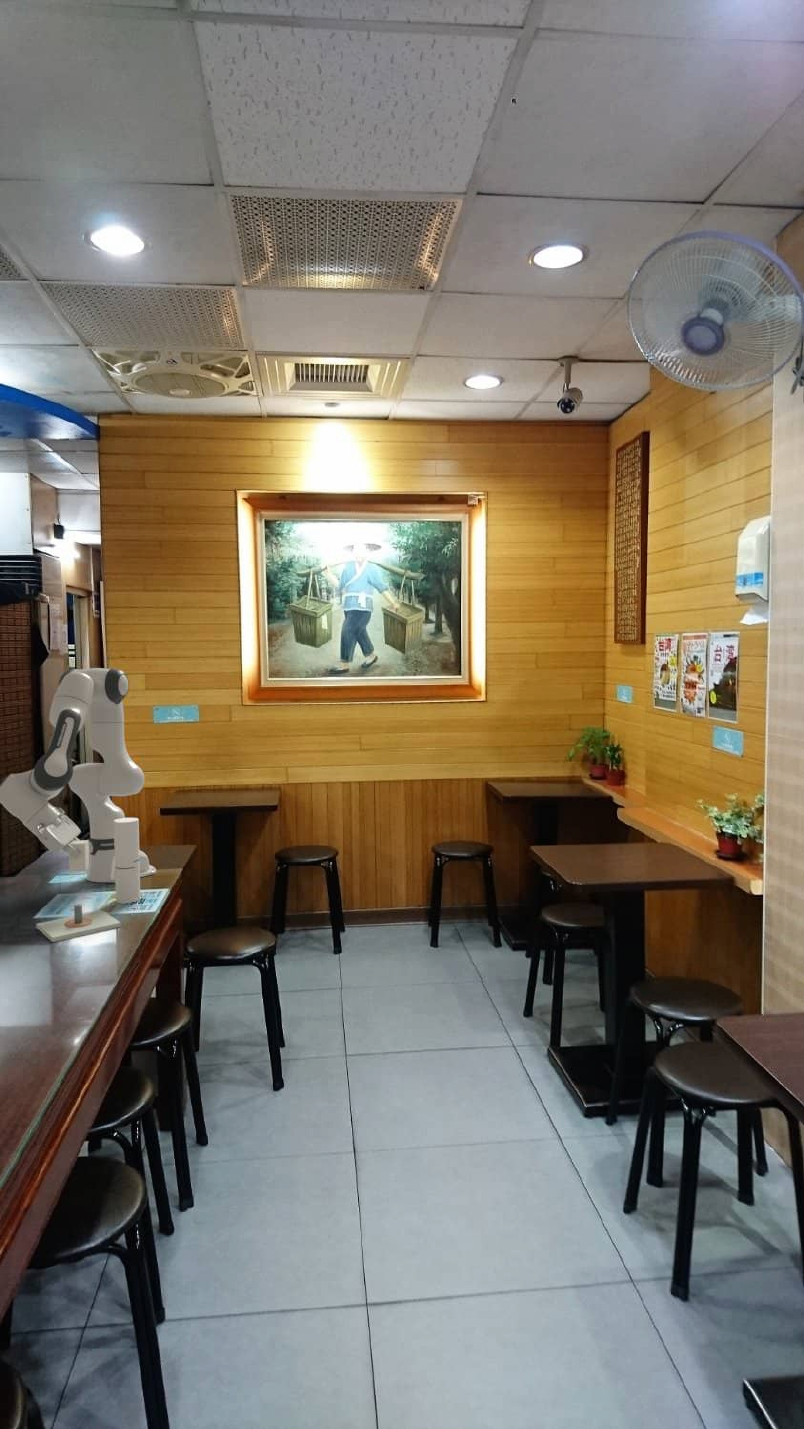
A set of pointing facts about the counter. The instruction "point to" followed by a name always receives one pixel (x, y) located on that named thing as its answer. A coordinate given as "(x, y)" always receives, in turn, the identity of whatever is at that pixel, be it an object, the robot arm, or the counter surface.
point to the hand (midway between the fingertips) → (81, 853)
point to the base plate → (77, 924)
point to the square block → (81, 861)
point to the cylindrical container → (127, 860)
